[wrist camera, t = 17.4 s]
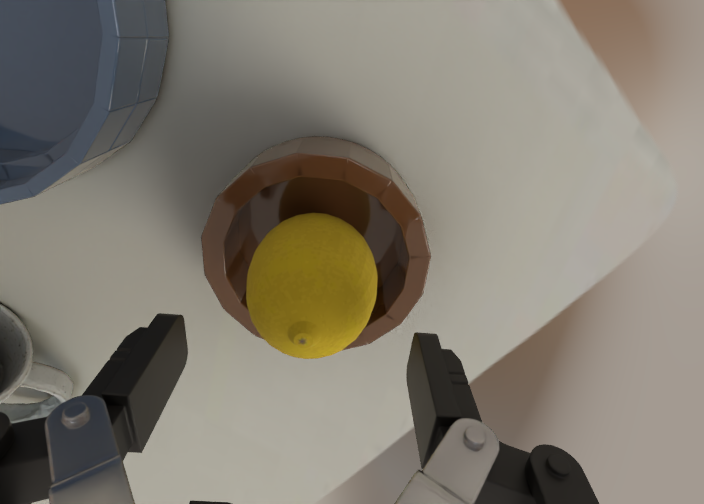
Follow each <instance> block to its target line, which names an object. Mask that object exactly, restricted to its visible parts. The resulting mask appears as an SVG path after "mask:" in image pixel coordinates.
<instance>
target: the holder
mask: <svg viewBox="0 0 704 504" xmlns="http://www.w3.org/2000/svg"><path fill="white" fill-rule="evenodd" d="M307 213H323V214H328V215H332V216H335V217H338V218H340V219H342V220H343V221H345V222H347V223H348V224H350V225H352V226H353V227H354V228H355V229H356V230H357V231H358V232H359V233H360V234H361V235H362V236H363V238H364V239H365V241H366V243H367V244H368V246H369V248H370V250H371V252H372V254H373V257H374V261H375V265H376V270H377V295H376V301H375V304H374V307H373V310H372V313H371V315H370V318H369V320H368V323H367V325H366V326H365V328H364V329H363V330H362V332H361V333H360V334H359V336H358V337H357V338H356V340H354V341H353V342H352V343H351V344H349V345H348V346H347V347H345V348H344V349H343V350H345V349H350V348H354V347H358V346H362V345H367V344H370V343H371V342H373V341H375V340H376V339H378V338H379V337H381V336H383V335H384V334H386V333H387V332H389V331H391V330H392V329H394V328H395V327H397V326H398V325H400V324H401V323H402V322H403V320H404V319H405V318H406V316H407V315H408V314H409V312H410V311H411V310H412V308H413V307H414V306H415V304H416V303H417V301H418V300H419V299H420V297H421V296H422V295H423V292H424V287H425V283H426V278H427V273H428V269H429V264H430V259H431V255H430V254H431V253H430V249H429V245H428V241H427V237H426V233H425V229H424V225H423V221H422V217H421V214H420V212H419V209H418V206H417V204H416V201H415V198H414V196H413V194H412V193H411V192H410V190H409V189H408V187H407V185H406V184H405V182H404V181H403V179H402V178H401V176H400V175H399V174H398V173H397V172H396V170H395V169H394V168H393V167H392V166H391V165H390V164H389V163H387V162H386V161H385V160H384V159H383V158H381V157H380V156H379V155H377V154H376V153H374V152H372V151H371V150H369V149H367V148H365V147H363V146H361V145H358V144H356V143H353V142H350V141H347V140H343V139H339V138H333V137H320V136H312V137H302V138H297V139H293V140H288V141H285V142H282V143H280V144H277V145H275V146H273V147H271V148H269V149H267V150H266V151H264V152H262V153H261V154H259V155H258V156H257V157H256V158H254V159H253V160H252V161H251V162H250V163H249V164H248V165H247V166H246V167H245V168H244V169H243V170H242V171H241V172H240V173H238V174H237V175H236V176H235V177H234V178H233V179H232V180H231V181H230V183H229V184H228V185H227V186H226V187H225V188H224V190H223V191H222V192H221V193H220V194H219V195H218V196H217V198H216V200H215V202H214V205H213V207H212V210H211V213H210V215H209V218H208V220H207V223H206V225H205V228H204V230H203V233H202V237H201V239H202V250H203V261H204V272H205V276H206V278H207V280H208V282H209V284H210V285H211V287H212V289H213V291H214V293H215V294H216V296H217V298H218V300H219V302H220V303H221V305H222V307H223V309H225V311H226V312H227V313H228V314H230V315H231V316H232V317H233V318H234V319H236V320H237V321H238V322H239V323H240V324H242V325H243V326H244V327H245V328H246V329H248V330H249V331H250V332H251V333H252V334H254V335H255V336H257V337H259V338H262V339H264V338H263V337H262V336H261V335H260V334H259V332H258V331H257V329H256V327H255V326H254V324H253V322H252V320H251V317H250V313H249V310H248V306H247V300H246V289H247V274H248V270H249V267H250V264H251V261H252V258H253V255H254V253H255V251H256V249H257V247H258V246H259V244H260V243H261V242H262V240H263V239H264V238H265V236H266V235H267V234H268V233H269V232H270V231H271V230H272V229H273V228H275V227H276V226H277V225H279V224H280V223H281V222H283V221H284V220H287V219H289V218H291V217H294V216H296V215H301V214H307ZM264 340H265V339H264Z"/></svg>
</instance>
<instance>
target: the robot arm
mask: <svg viewBox="0 0 704 504" xmlns="http://www.w3.org/2000/svg"><path fill="white" fill-rule="evenodd" d="M187 355H188V348H187V340H186V332H185V324H184V318H183V316H182V315H175V314H161V313H159V314H157V315H156V316H155V318H154V319H153V321H152V322H151V324H150V325H149V326H148V328H144V327H140V328H138V329H137V330H135V331H134V332H132V333H131V334H129V335H128V336H127V337H126V338H125V339H124V340H123V342H122V343H121V344H120V345H119V347H118V348H117V351H115V352H114V353H113V355H112V356H111V357H110V360H108V361H107V363H106V364H105V365H104V367H103V368H102V369H101V371H100V372H99V373H98V375H97V376H96V377H95V379H94V380H93V381H92V383H91V384H90V385H89V387H88V388H87V389H86V391H85V392H84V393H83V395H82V396H78V397H74V398H72V399H69V400H67V401H65V402H63V403H61V404H60V405H58V406H57V407H56V408H55V409H54V410H53V411H52V412H51V413H50V414H49V415H48V416H47V417H43V418H38V419H32V420H27V421H22V422H17V423H11V422H10V420H9V418H8V416H7V415H6V414H5V413H3V412H0V504H31V503H32V502H36V501H40V500H44V499H48V498H49V503H50V504H135V502H134V499H133V496H132V492H131V489H130V485H129V482H128V478H127V475H126V471H125V468H124V464H123V460H124V458H125V456H126V454H127V452H138V453H142V451H143V449H144V447H145V445H146V443H147V441H148V439H149V437H150V435H151V433H152V431H153V429H154V427H155V425H156V423H157V421H158V419H159V417H160V415H161V413H162V411H163V409H164V407H165V405H166V403H167V401H168V399H169V397H170V395H171V393H172V391H173V389H174V387H175V385H176V383H177V381H178V379H179V377H180V375H181V373H182V371H183V369H184V367H185V365H186V361H187ZM407 386H408V392H409V398H410V403H411V409H412V415H413V421H414V427H415V433H416V439H417V444H418V450H419V456H420V462H421V468H422V469H423V470H422V471H420V470H418V471H417V472H416V473H415V474H414V475H413V477H412V478H411V480H410V481H409V483H408V484H407V486H406V487H405V489H404V490H403V492H402V493H401V495H400V496H399V498H398V499H397V501H396V502H395V504H599V502H598V500H597V498H596V496H595V494H594V492H593V490H592V488H591V486H590V484H589V482H588V479H587V477H586V476H585V473H584V471H583V469H582V468H581V466H580V465H579V463H578V462H577V461H576V460H575V459H574V458H573V457H572V456H571V455H570V454H568V453H567V452H565V451H564V450H562V449H560V448H558V447H555V446H552V445H539V446H536V447H535V448H534V449H533V450H532V452H531V453H528V452H525V451H522V450H519V449H517V448H514V447H511V446H508V445H506V444H503V443H502V442H500V441H499V440H498V438H497V436H496V435H495V433H494V432H493V431H492V430H491V429H490V428H489V427H488V426H487V425H485V424H484V423H482V420H481V418H480V415H479V412H478V409H477V406H476V403H475V401H474V398H473V395H472V392H471V389H470V386H469V385H468V380H467V378H466V375H465V372H464V369H463V366H462V363H461V361H460V359H459V358H458V357H457V356H456V355H455V354H454V353H453V351H452V350H447V349H441V346H440V342H439V339H438V336H437V334H430V333H415V334H414V337H413V341H412V346H411V351H410V355H409V360H408V365H407ZM189 504H231V503H227V502H207V501H190V503H189Z"/></svg>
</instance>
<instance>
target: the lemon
mask: <svg viewBox="0 0 704 504" xmlns="http://www.w3.org/2000/svg"><path fill="white" fill-rule="evenodd" d="M376 295H377V270H376V265H375V261H374V257H373V254H372V252H371V250H370V248H369V246H368V244H367V243H366V241H365V239H364V238H363V236H362V235H361V234H360V233H359V232H358V231H357V230H356V229H355V228H354V227H353V226H352V225H350V224H348V223H347V222H345V221H343V220H342V219H340V218H338V217H335V216H332V215H328V214H323V213H307V214H301V215H296V216H294V217H291V218H289V219H287V220H284V221H283V222H281V223H280V224H279V225H277V226H276V227H275V228H273V229H272V230H271V231H270V232H269V233H268V234H267V235H266V236H265V238H264V239H263V240H262V242H261V243H260V244H259V246H258V247H257V249H256V251H255V253H254V255H253V258H252V261H251V264H250V267H249V270H248V274H247V289H246V300H247V306H248V310H249V313H250V317H251V320H252V322H253V324H254V326H255V327H256V329H257V331H258V332H259V334H260V335H261V336H262V337H263V338H264V339H265V340H266V341H267V342H268V343H269V344H270V345H271V346H273V347H274V348H276V349H277V350H279V351H281V352H282V353H285V354H287V355H290V356H293V357H298V358H304V359H312V358H321V357H325V356H329V355H332V354H335V353H337V352H339V351H341V350H343V349H344V348H345V347H347V346H348V345H349V344H351V343H352V342H353V341H354V340H356V338H357V337H358V336H359V334H360V333H361V332H362V330H363V329H364V328H365V326H366V325H367V323H368V320H369V318H370V315H371V313H372V310H373V307H374V304H375V301H376Z"/></svg>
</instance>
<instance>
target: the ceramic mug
mask: <svg viewBox="0 0 704 504" xmlns="http://www.w3.org/2000/svg"><path fill="white" fill-rule="evenodd" d="M32 358H33V345H32V340H31V337H30V334H29V332H28V330H27V328H26V326H25V325H24V324H23V323H22V321H21V320H20V319H19V318H18V317H17V316H16V315H15V314H14V313H13V312H12V311H10V310H9V309H8V308H6V307H5V306H4V305H2V304H0V412H3V413H5V414H6V415H7V416H8V418H9V420H10V422H11V423H17V422H22V421H27V420H32V419H38V418H43V417H47V416H48V415H49V414H50V413H51V412H52V411H53V410H54V409H55V408H56V407H57V406H58V405H60V404H61V403H63V402H65V401H67V400H69V399H71V395H72V391H73V381H72V380H71V378H70V377H69V376H68V375H67V374H66V373H65V372H63V371H61V370H59V369H56V368H53V367H50V366H47V365H44V364H41V363H37V362H33V361H32ZM18 387H27V388H33V389H35V390H38V391H42V392H46V393H49V394H51V395H53V396H52V397H50V398H49V399H47V400H44V401H42V402H39V403H30V404H24V403H22V404H5V403H3V402H4V401H5V400H6V399H7V398H8V397H9V396H10V395H11V394H12V393H13V392H14V391H15V390H16V389H17V388H18Z"/></svg>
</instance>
